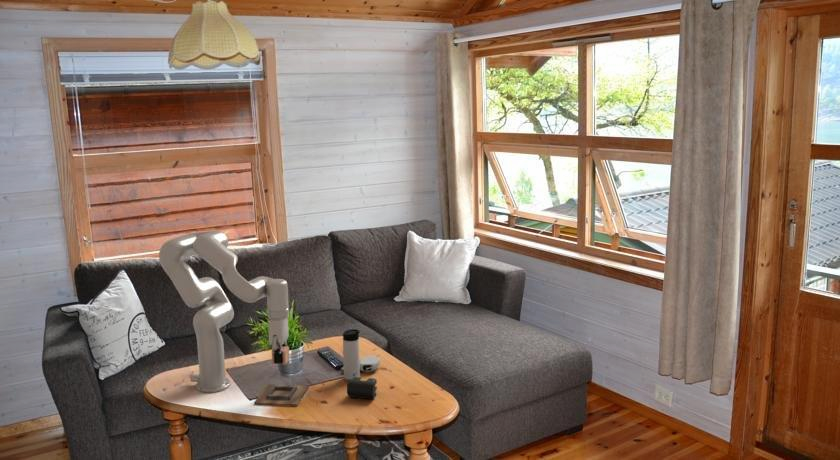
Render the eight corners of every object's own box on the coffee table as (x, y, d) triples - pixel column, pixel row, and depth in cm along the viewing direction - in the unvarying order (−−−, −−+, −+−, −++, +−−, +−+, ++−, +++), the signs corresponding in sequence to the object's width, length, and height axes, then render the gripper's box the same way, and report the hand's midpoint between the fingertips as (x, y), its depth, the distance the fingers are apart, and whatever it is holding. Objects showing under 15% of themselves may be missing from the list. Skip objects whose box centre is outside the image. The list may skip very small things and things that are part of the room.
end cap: (346, 400, 253) (346, 383, 252) (352, 392, 260) (351, 375, 259) (373, 402, 251) (372, 384, 250) (377, 394, 258) (377, 377, 257)
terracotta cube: (272, 363, 252) (271, 351, 251) (276, 358, 257) (275, 346, 256) (285, 364, 251) (284, 351, 250) (289, 359, 256) (288, 346, 255)
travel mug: (358, 382, 268) (357, 333, 264) (341, 381, 270) (340, 332, 266) (362, 376, 274) (361, 328, 270) (346, 374, 276) (345, 327, 272)
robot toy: (340, 376, 276) (377, 375, 275) (339, 366, 276) (376, 364, 274) (346, 364, 288) (382, 363, 287) (345, 354, 288) (381, 353, 286)
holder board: (254, 404, 250) (253, 399, 249) (268, 386, 265) (267, 381, 265) (297, 406, 248) (297, 401, 248) (308, 387, 264) (308, 382, 263)
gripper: (275, 305, 259) (277, 351, 262) (260, 320, 242) (263, 369, 246) (295, 306, 258) (297, 352, 262) (281, 320, 242) (284, 369, 245)
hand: (280, 359), depth 254 cm, fingers closed on terracotta cube, 4 cm apart
